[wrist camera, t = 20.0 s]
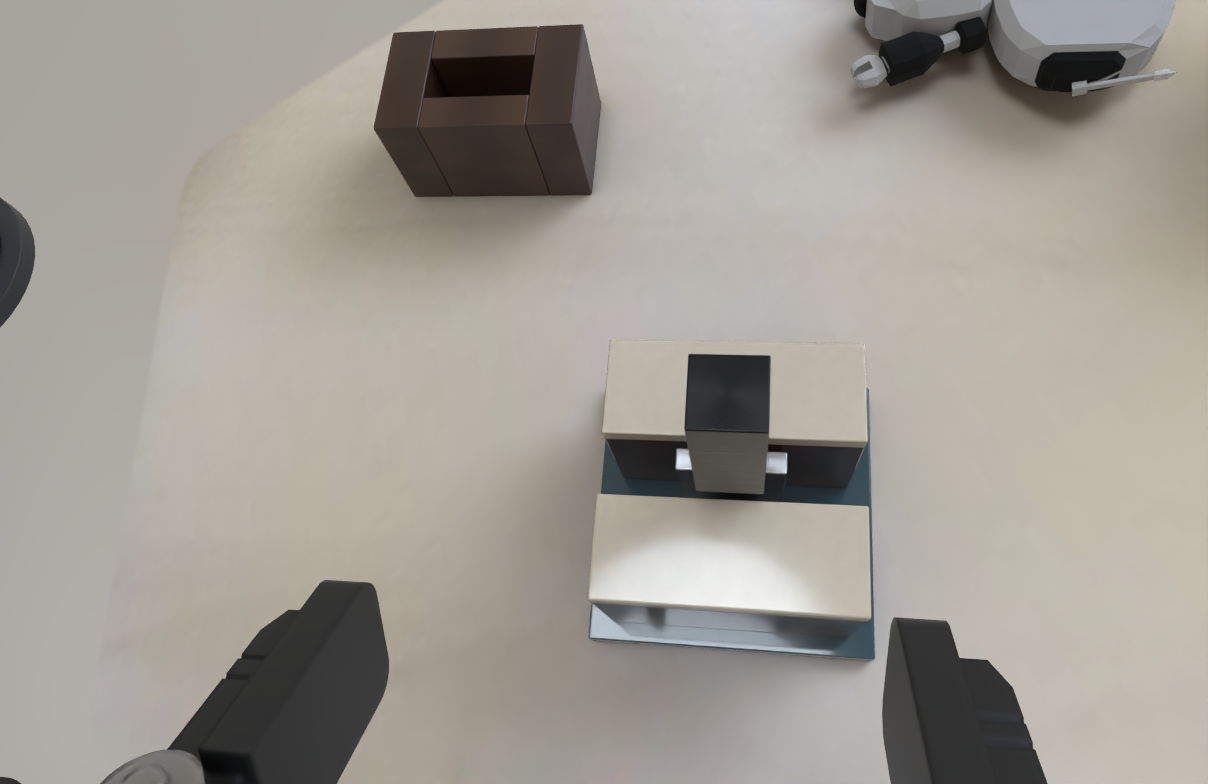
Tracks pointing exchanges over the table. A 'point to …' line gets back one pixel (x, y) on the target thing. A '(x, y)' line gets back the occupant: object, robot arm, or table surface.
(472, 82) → the brown rectangular frame
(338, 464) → the table surface
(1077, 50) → the robot toy
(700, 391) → the dark grey tall bar
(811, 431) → the slotted fixture
